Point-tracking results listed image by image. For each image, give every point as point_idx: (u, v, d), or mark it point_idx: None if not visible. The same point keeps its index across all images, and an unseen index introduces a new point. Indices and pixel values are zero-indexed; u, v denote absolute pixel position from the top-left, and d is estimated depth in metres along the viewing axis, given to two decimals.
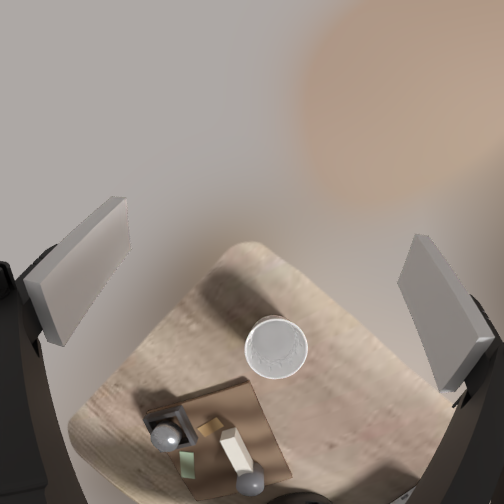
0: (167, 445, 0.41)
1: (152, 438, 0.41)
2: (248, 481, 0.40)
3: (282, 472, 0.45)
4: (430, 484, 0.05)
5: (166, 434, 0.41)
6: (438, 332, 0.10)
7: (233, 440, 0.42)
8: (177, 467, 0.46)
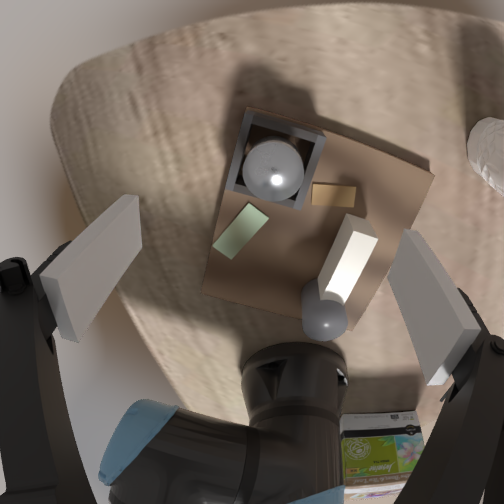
0: (269, 186, 0.23)
1: (252, 157, 0.22)
2: (332, 317, 0.29)
3: (350, 317, 0.36)
4: (420, 480, 0.05)
5: (288, 165, 0.22)
6: (425, 325, 0.10)
7: (372, 242, 0.26)
8: (219, 227, 0.31)
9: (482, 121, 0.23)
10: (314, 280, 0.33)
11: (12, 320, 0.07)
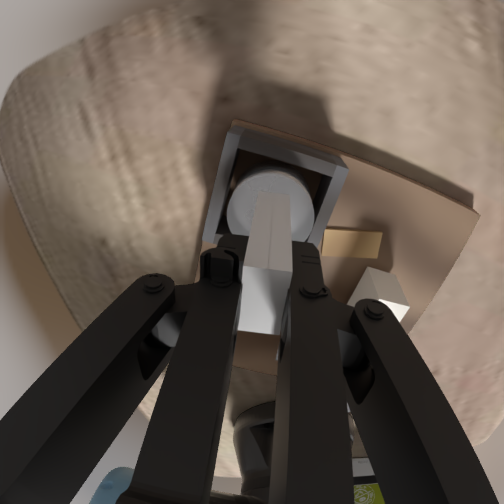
0: None
1: (240, 195, 0.16)
2: None
3: None
4: (277, 458, 0.06)
5: (292, 207, 0.16)
6: None
7: (401, 311, 0.19)
8: None
9: None
10: None
11: (208, 313, 0.08)
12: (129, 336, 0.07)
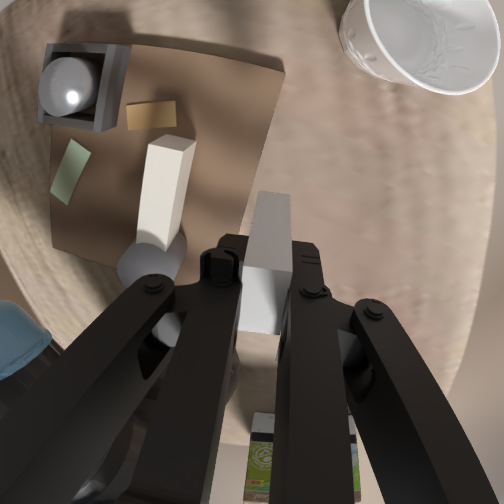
0: (58, 101, 0.17)
1: (43, 76, 0.16)
2: (146, 264, 0.22)
3: None
4: (277, 458, 0.06)
5: (70, 75, 0.17)
6: None
7: (176, 158, 0.19)
8: (52, 169, 0.25)
9: None
10: None
11: (208, 313, 0.08)
12: (129, 336, 0.07)
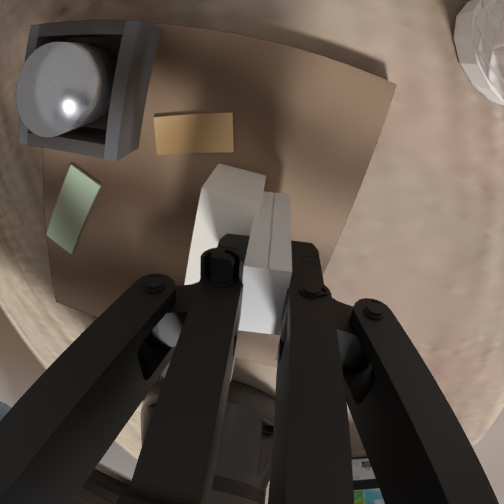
0: (46, 112, 0.11)
1: (23, 74, 0.10)
2: None
3: (269, 348, 0.22)
4: (277, 458, 0.06)
5: (64, 70, 0.10)
6: None
7: (249, 212, 0.13)
8: (48, 206, 0.18)
9: None
10: None
11: (208, 313, 0.08)
12: (130, 336, 0.07)
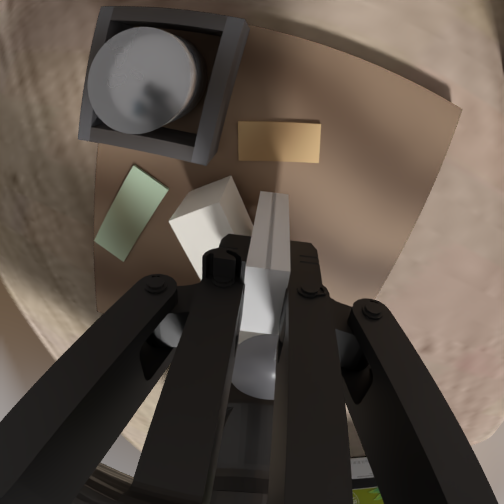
0: (131, 105, 0.11)
1: (100, 59, 0.10)
2: (266, 364, 0.16)
3: None
4: (275, 458, 0.06)
5: (159, 60, 0.10)
6: None
7: (216, 215, 0.13)
8: (98, 209, 0.18)
9: None
10: None
11: (210, 314, 0.08)
12: (131, 337, 0.07)
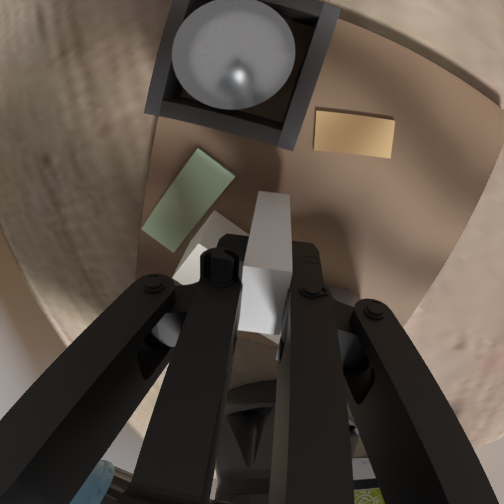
0: (225, 78, 0.10)
1: (190, 24, 0.09)
2: None
3: None
4: (277, 458, 0.06)
5: (262, 35, 0.09)
6: None
7: None
8: (150, 195, 0.17)
9: None
10: None
11: (208, 313, 0.08)
12: (129, 336, 0.07)
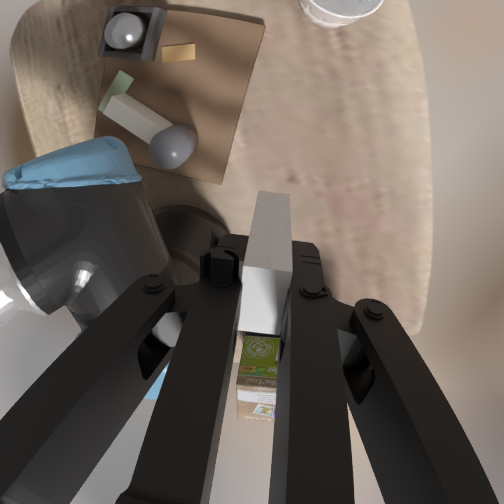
0: (119, 38, 0.27)
1: (109, 24, 0.26)
2: (159, 142, 0.32)
3: (214, 168, 0.38)
4: (277, 458, 0.06)
5: (129, 23, 0.26)
6: None
7: (113, 100, 0.31)
8: (102, 93, 0.34)
9: None
10: None
11: (208, 313, 0.08)
12: (129, 336, 0.07)
